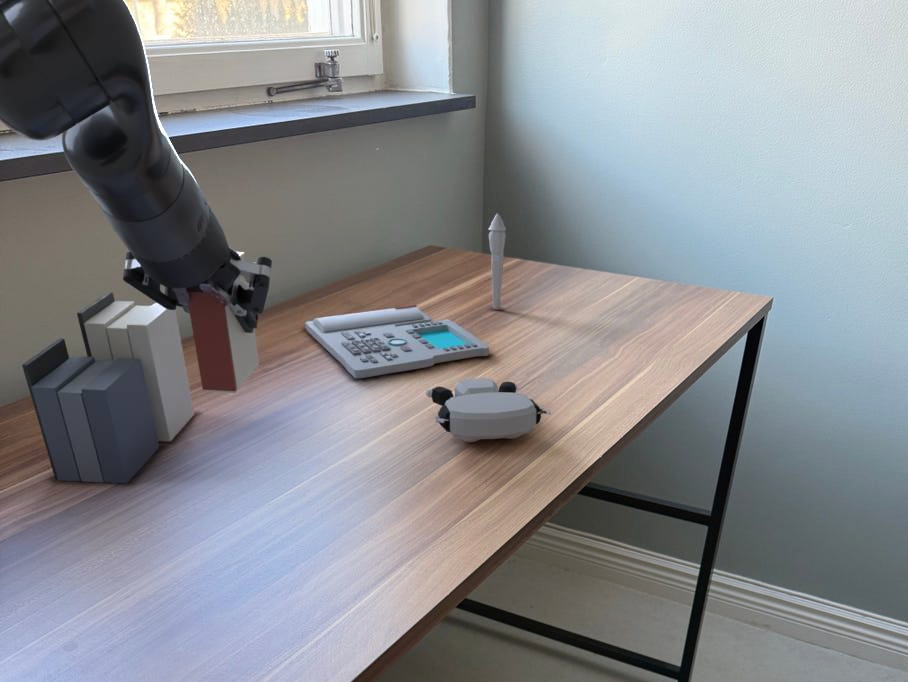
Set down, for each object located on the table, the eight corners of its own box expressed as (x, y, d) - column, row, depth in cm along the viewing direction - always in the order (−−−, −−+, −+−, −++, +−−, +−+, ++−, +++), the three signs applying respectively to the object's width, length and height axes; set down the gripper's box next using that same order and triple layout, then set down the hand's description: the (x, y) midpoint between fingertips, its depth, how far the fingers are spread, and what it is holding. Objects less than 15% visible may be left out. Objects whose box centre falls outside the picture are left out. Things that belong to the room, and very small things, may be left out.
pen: (501, 312, 143) (503, 215, 134) (485, 310, 143) (486, 214, 135) (506, 308, 145) (508, 212, 136) (490, 306, 145) (491, 210, 137)
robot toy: (421, 413, 112) (443, 456, 100) (419, 376, 110) (442, 415, 97) (518, 406, 114) (551, 447, 102) (519, 369, 112) (553, 407, 99)
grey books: (52, 480, 95) (19, 366, 88) (89, 444, 102) (61, 336, 95) (127, 483, 94) (99, 369, 87) (159, 447, 102) (136, 339, 95)
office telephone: (302, 312, 134) (428, 296, 141) (304, 330, 136) (428, 313, 142) (354, 360, 117) (494, 339, 124) (355, 380, 118) (494, 358, 125)
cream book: (202, 391, 88) (182, 273, 82) (228, 362, 95) (212, 250, 88) (235, 393, 88) (218, 274, 82) (259, 364, 95) (245, 252, 88)
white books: (107, 439, 103) (76, 313, 95) (135, 411, 110) (108, 291, 101) (170, 442, 103) (144, 315, 95) (194, 414, 109) (172, 293, 101)
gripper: (253, 176, 73) (305, 291, 90) (83, 171, 74) (167, 285, 91) (243, 263, 72) (297, 362, 89) (70, 256, 73) (157, 355, 90)
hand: (231, 322), depth 90 cm, fingers closed on cream book, 3 cm apart
